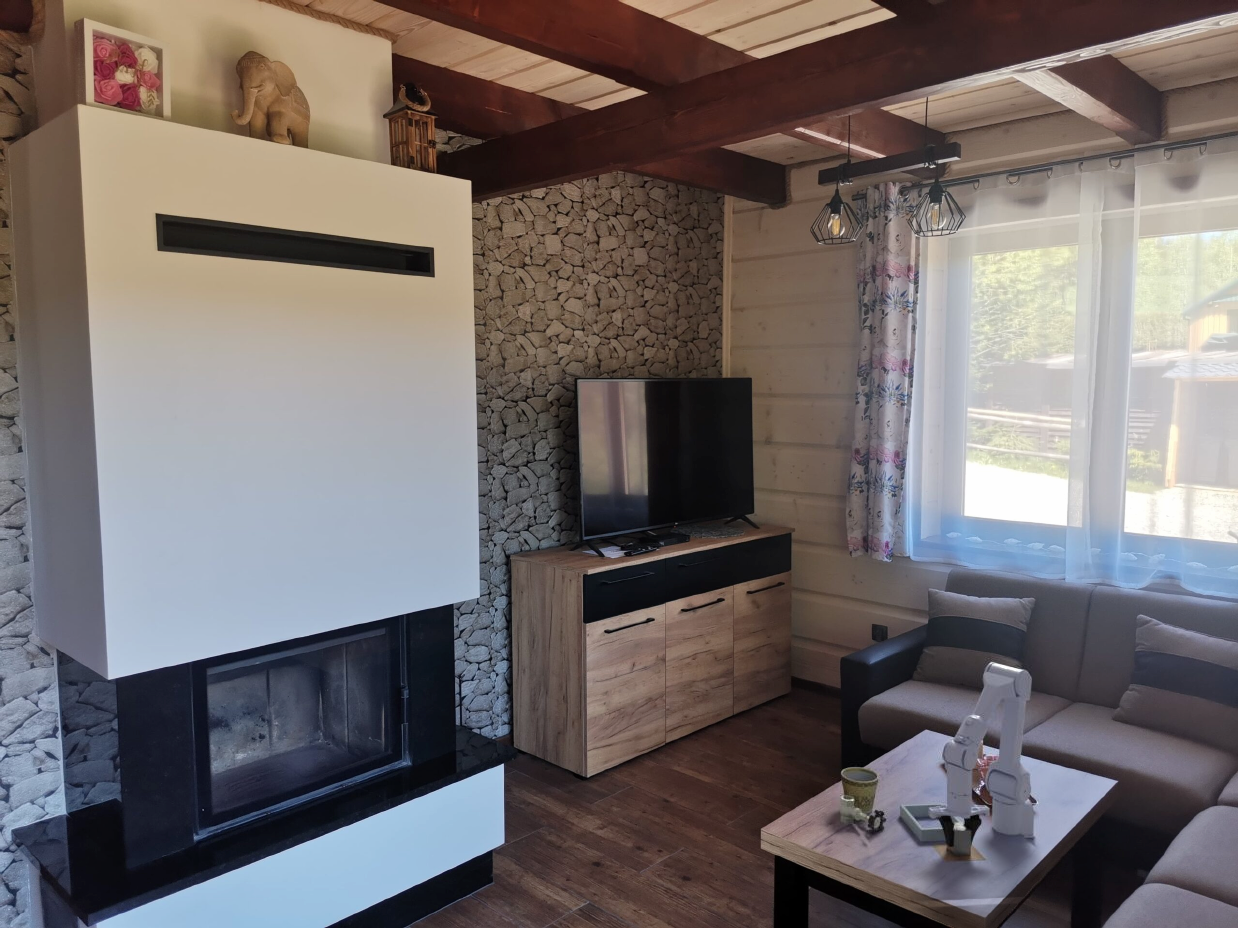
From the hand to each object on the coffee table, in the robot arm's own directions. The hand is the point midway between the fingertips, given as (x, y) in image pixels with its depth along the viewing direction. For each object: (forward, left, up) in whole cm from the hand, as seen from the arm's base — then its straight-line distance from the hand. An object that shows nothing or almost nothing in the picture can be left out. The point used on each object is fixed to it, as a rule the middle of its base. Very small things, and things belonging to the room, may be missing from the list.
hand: (958, 844), depth 215 cm
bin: (+1, -13, -3) cm, 13 cm away
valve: (+19, -17, -3) cm, 26 cm away
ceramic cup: (+15, -28, -3) cm, 32 cm away
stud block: (0, 0, -3) cm, 3 cm away
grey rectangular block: (0, 0, -2) cm, 2 cm away
